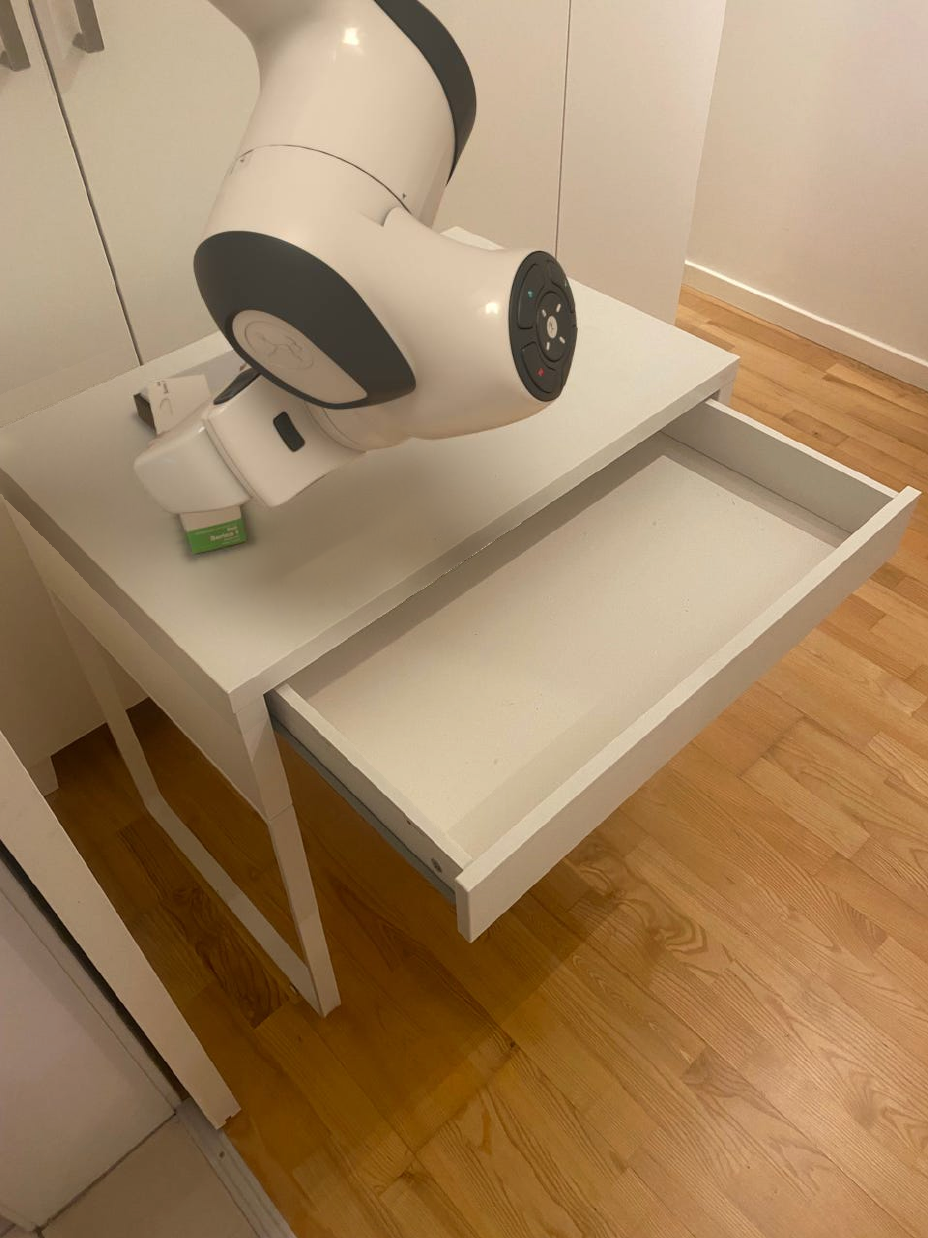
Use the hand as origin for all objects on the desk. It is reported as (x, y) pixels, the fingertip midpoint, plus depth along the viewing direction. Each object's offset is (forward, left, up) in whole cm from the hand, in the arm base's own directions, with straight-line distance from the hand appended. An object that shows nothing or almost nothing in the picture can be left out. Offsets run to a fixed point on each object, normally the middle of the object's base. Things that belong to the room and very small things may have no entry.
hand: (207, 409), depth 66 cm
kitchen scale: (+11, +19, -17) cm, 28 cm away
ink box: (+2, +8, -17) cm, 19 cm away
